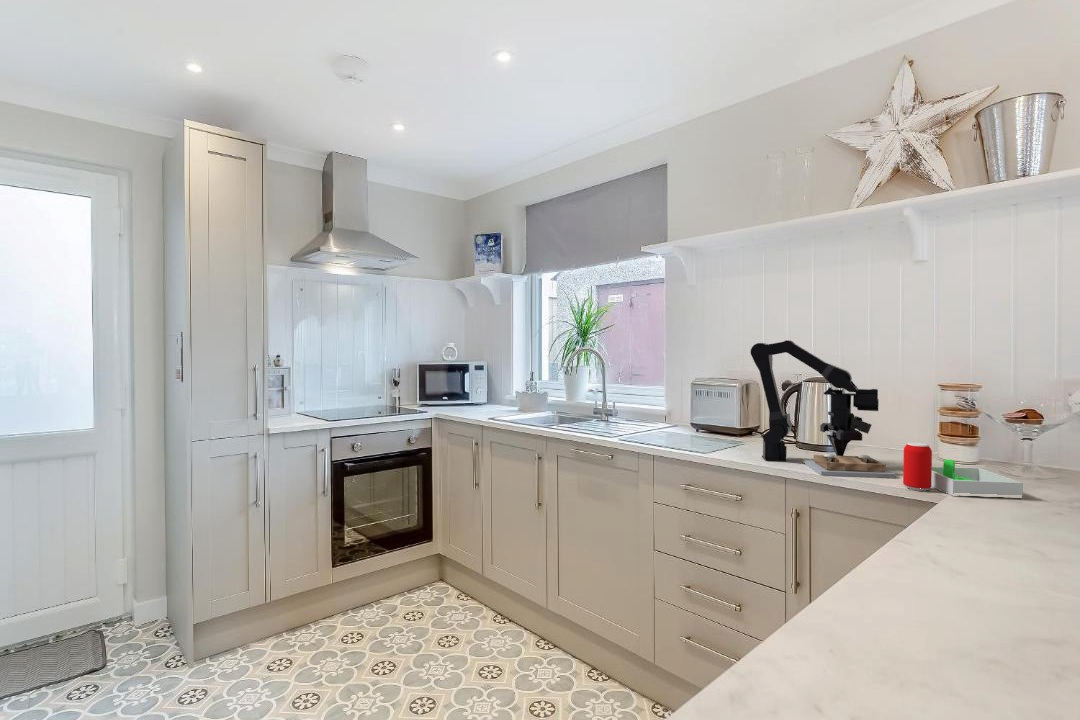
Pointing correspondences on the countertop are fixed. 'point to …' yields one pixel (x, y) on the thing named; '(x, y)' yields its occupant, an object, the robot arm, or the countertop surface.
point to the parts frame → (975, 482)
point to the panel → (849, 463)
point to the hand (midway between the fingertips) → (839, 458)
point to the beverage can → (917, 466)
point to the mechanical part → (951, 470)
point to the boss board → (849, 473)
